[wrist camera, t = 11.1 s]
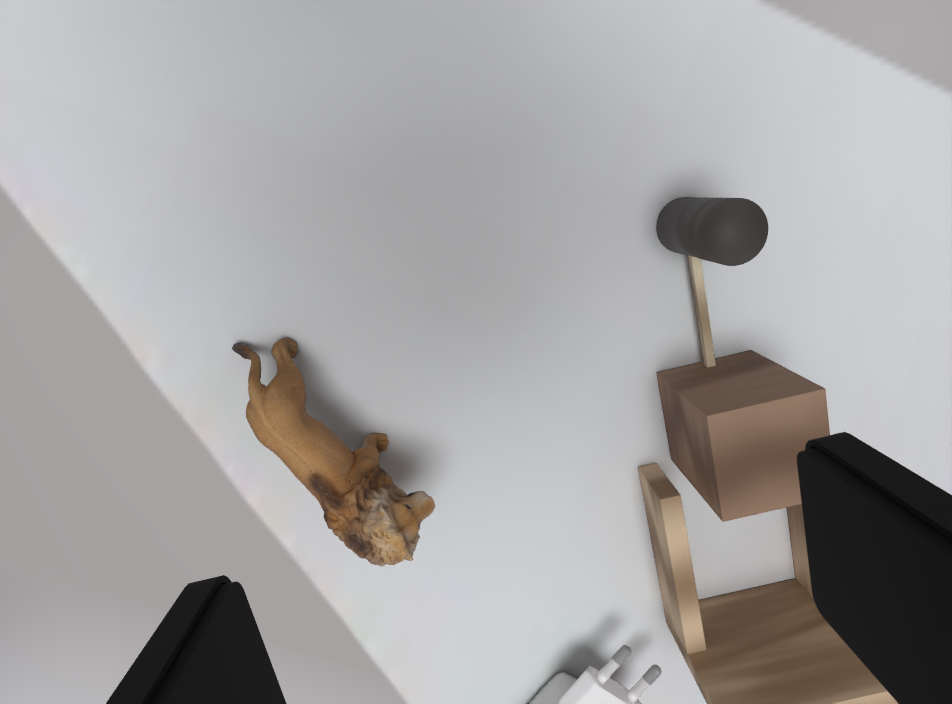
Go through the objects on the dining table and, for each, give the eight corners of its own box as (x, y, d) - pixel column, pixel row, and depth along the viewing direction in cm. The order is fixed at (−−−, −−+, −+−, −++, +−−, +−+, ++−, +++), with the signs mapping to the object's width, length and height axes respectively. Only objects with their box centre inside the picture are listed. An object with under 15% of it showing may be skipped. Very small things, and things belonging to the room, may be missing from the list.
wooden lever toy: (628, 210, 37) (676, 214, 29) (729, 186, 37) (804, 183, 29) (671, 459, 41) (722, 521, 33) (762, 438, 41) (835, 495, 33)
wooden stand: (637, 467, 41) (695, 552, 31) (796, 430, 41) (904, 504, 31) (666, 622, 44) (727, 745, 34) (814, 589, 43) (918, 703, 34)
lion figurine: (449, 461, 40) (448, 535, 32) (395, 519, 41) (380, 606, 32) (262, 311, 37) (205, 347, 29) (208, 377, 38) (137, 430, 30)
